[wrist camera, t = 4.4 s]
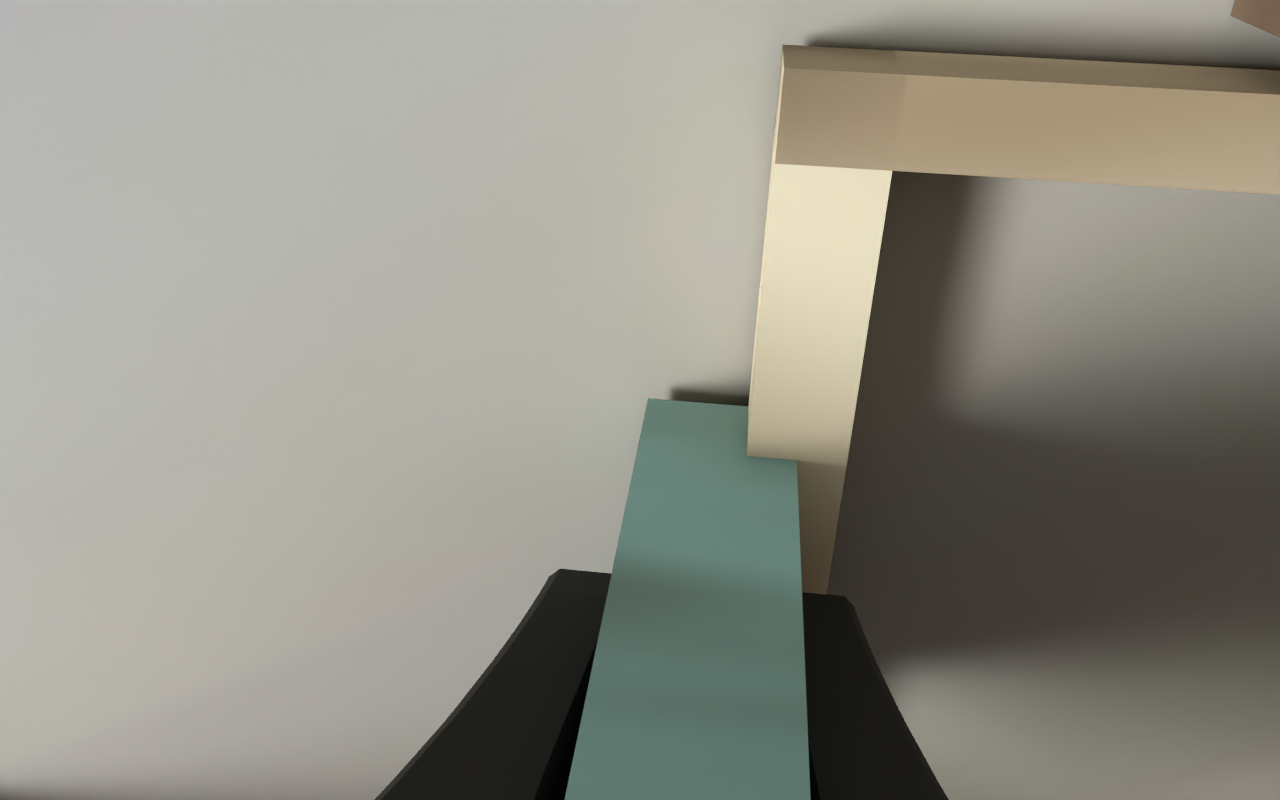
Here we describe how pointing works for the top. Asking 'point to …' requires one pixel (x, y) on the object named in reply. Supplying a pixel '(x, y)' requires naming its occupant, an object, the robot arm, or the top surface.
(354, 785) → the top surface
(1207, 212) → the top surface
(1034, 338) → the top surface
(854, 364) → the frame
